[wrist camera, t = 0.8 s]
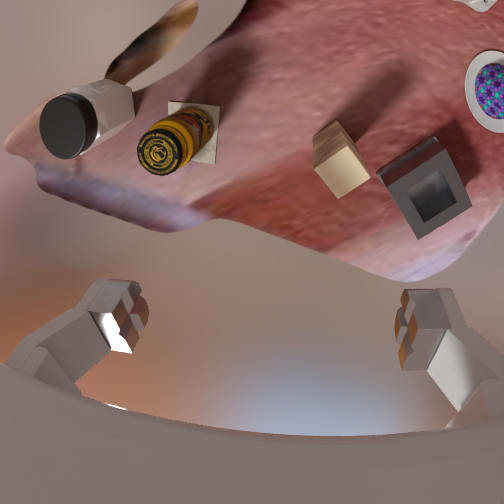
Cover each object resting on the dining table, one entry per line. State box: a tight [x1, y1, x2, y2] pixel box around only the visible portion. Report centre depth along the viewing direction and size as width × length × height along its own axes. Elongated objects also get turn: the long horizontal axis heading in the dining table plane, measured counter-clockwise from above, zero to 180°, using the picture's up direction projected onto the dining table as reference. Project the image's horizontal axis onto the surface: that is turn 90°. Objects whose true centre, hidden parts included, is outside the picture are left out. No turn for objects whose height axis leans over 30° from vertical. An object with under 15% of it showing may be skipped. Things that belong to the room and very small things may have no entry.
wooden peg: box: [313, 120, 371, 199], centre depth 34 cm, size 4×4×12 cm
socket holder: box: [376, 135, 472, 240], centre depth 38 cm, size 10×10×5 cm
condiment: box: [137, 102, 220, 176], centre depth 37 cm, size 7×8×12 cm
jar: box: [39, 79, 135, 159], centre depth 35 cm, size 9×8×12 cm
